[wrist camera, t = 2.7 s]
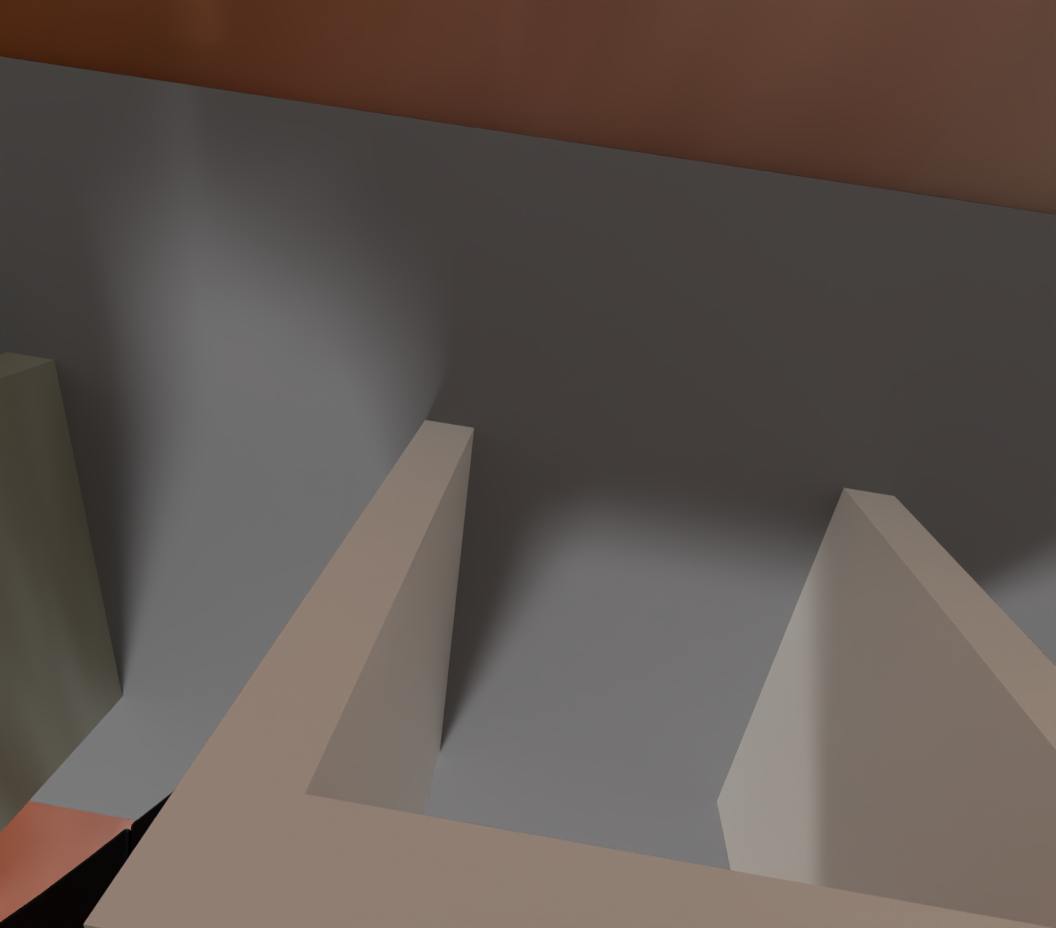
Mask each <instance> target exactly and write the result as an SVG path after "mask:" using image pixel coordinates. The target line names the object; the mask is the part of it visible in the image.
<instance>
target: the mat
mask: <svg viewBox="0 0 1056 928" xmlns="http://www.w3.org/2000/svg"><path fill="white" fill-rule="evenodd" d="M6 352H10V353H16V354H22V355H28V356H34V357H40V358H47V359H53V360H55V365H56V370H57V375H58V380H59V385H60V390H61V395H62V400H63V405H64V410H65V415H66V420H67V425H68V430H69V434H70V439H71V444H72V449H73V454H74V459H75V464H76V469H77V474H78V479H79V484H80V489H81V494H82V499H83V504H84V509H85V514H86V519H87V523H88V528H89V533H90V538H91V543H92V548H93V553H94V558H95V563H96V568H97V573H98V578H99V583H100V588H101V593H102V598H103V603H104V608H105V612H106V617H107V622H108V627H109V632H110V637H111V642H112V647H113V652H114V657H115V662H116V667H117V672H118V677H119V682H120V687H121V692H122V698H121V699H120V700H119V701H118V702H117V703H116V705H115V706H114V707H113V708H112V709H111V710H110V711H109V712H108V713H107V715H106V716H105V717H104V718H103V719H102V720H101V721H100V722H99V723H98V725H97V726H96V727H95V728H94V729H93V730H92V731H91V732H90V733H89V735H88V736H87V737H86V738H85V739H84V740H83V741H82V742H81V743H80V745H79V746H78V747H77V748H76V749H75V750H74V751H73V752H72V753H71V755H70V756H69V757H68V758H67V759H66V760H65V761H64V762H63V763H62V765H61V766H60V767H59V768H58V769H57V770H56V771H55V772H54V774H53V775H52V776H51V777H50V778H49V779H48V780H47V781H46V782H45V784H44V785H43V786H42V787H41V788H40V789H39V790H38V791H37V792H36V794H35V795H34V796H33V797H32V798H31V799H30V800H29V801H32V802H38V803H43V804H49V805H54V806H60V807H65V808H71V809H76V810H82V811H87V812H93V813H98V814H104V815H109V816H115V817H121V818H126V819H132V820H137V819H139V818H140V817H141V816H143V815H144V814H145V813H146V812H148V811H149V810H150V809H151V808H153V807H154V806H155V805H156V804H158V803H159V802H160V801H162V800H163V799H164V798H165V797H167V796H168V795H169V794H170V793H172V792H173V791H174V790H175V788H176V787H177V785H178V784H179V782H180V781H181V780H182V778H183V777H184V775H185V774H186V772H187V771H188V769H189V768H190V766H191V765H192V763H193V762H194V760H195V759H196V757H197V756H198V754H199V753H200V751H201V750H202V749H203V747H204V746H205V744H206V743H207V741H208V740H209V738H210V737H211V735H212V734H213V732H214V731H215V729H216V728H217V726H218V725H219V723H220V722H221V720H222V719H223V718H224V716H225V715H226V713H227V712H228V710H229V709H230V707H231V706H232V704H233V703H234V701H235V700H236V698H237V697H238V695H239V694H240V692H241V691H242V690H243V688H244V687H245V685H246V684H247V682H248V681H249V679H250V678H251V676H252V675H253V673H254V672H255V670H256V669H257V667H258V666H259V664H260V663H261V661H262V660H263V659H264V657H265V656H266V654H267V653H268V651H269V650H270V648H271V647H272V645H273V644H274V642H275V641H276V639H277V638H278V636H279V635H280V633H281V632H282V630H283V629H284V628H285V626H286V625H287V623H288V622H289V620H290V619H291V617H292V616H293V614H294V613H295V611H296V610H297V608H298V607H299V605H300V604H301V602H302V601H303V599H304V598H305V597H306V595H307V594H308V592H309V591H310V589H311V588H312V586H313V585H314V583H315V582H316V580H317V579H318V577H319V576H320V574H321V573H322V571H323V570H324V569H325V567H326V566H327V564H328V563H329V561H330V560H331V558H332V557H333V555H334V554H335V552H336V551H337V549H338V548H339V546H340V545H341V543H342V542H343V540H344V539H345V538H346V536H347V535H348V533H349V532H350V530H351V529H352V527H353V526H354V524H355V523H356V521H357V520H358V518H359V517H360V515H361V514H362V512H363V511H364V509H365V508H366V507H367V505H368V504H369V502H370V501H371V499H372V498H373V496H374V495H375V493H376V492H377V490H378V489H379V487H380V486H381V484H382V483H383V481H384V480H385V478H386V477H387V476H388V474H389V473H390V471H391V470H392V468H393V467H394V465H395V464H396V462H397V461H398V459H399V458H400V456H401V455H402V453H403V452H404V450H405V449H406V448H407V446H408V445H409V443H410V442H411V440H412V439H413V437H414V436H415V434H416V433H417V431H418V430H419V428H420V427H421V425H422V424H423V422H424V421H425V420H429V421H435V422H441V423H447V424H453V425H460V426H466V427H472V428H474V434H473V443H472V453H471V462H470V471H469V481H468V490H467V500H466V509H465V519H464V528H463V537H462V547H461V556H460V566H459V575H458V585H457V594H456V604H455V613H454V622H453V632H452V641H451V651H450V660H449V670H448V679H447V688H446V698H445V707H444V717H443V726H442V736H441V745H440V753H439V757H438V761H437V765H436V769H435V772H434V776H433V780H432V784H431V788H430V791H429V795H428V799H427V803H426V807H425V811H424V814H423V815H425V816H431V817H436V818H442V819H447V820H453V821H459V822H464V823H470V824H475V825H481V826H487V827H492V828H498V829H503V830H509V831H515V832H520V833H526V834H531V835H537V836H543V837H548V838H554V839H559V840H565V841H571V842H576V843H582V844H587V845H593V846H599V847H604V848H610V849H615V850H621V851H627V852H632V853H638V854H643V855H649V856H655V857H660V858H666V859H671V860H677V861H682V862H688V863H694V864H699V865H705V866H710V867H716V868H722V869H727V870H731V869H730V864H729V859H728V854H727V849H726V844H725V839H724V834H723V829H722V824H721V819H720V814H719V809H718V804H717V800H718V797H719V795H720V792H721V790H722V787H723V785H724V782H725V780H726V777H727V775H728V773H729V770H730V768H731V765H732V763H733V760H734V758H735V755H736V753H737V750H738V748H739V745H740V743H741V740H742V738H743V736H744V733H745V731H746V728H747V726H748V723H749V721H750V718H751V716H752V713H753V711H754V708H755V706H756V703H757V701H758V698H759V696H760V694H761V691H762V689H763V686H764V684H765V681H766V679H767V676H768V674H769V671H770V669H771V666H772V664H773V661H774V659H775V657H776V654H777V652H778V649H779V647H780V644H781V642H782V639H783V637H784V634H785V632H786V629H787V627H788V624H789V622H790V620H791V617H792V615H793V612H794V610H795V607H796V605H797V602H798V600H799V597H800V595H801V592H802V590H803V587H804V585H805V582H806V580H807V578H808V575H809V573H810V570H811V568H812V565H813V563H814V560H815V558H816V555H817V553H818V550H819V548H820V545H821V543H822V541H823V538H824V536H825V533H826V531H827V528H828V526H829V523H830V521H831V518H832V516H833V513H834V511H835V508H836V506H837V503H838V501H839V499H840V496H841V494H842V491H843V489H844V488H848V489H854V490H860V491H866V492H873V493H879V494H885V495H891V496H895V497H896V498H897V499H898V500H899V501H900V502H901V503H902V505H903V506H904V507H905V508H906V509H907V510H908V511H909V512H910V513H911V514H912V515H913V516H914V517H915V518H916V519H917V520H918V521H919V522H920V524H921V525H922V526H923V527H924V528H925V529H926V530H927V531H928V532H929V533H930V534H931V535H932V536H933V537H934V538H935V539H936V540H937V542H938V543H939V544H940V545H941V546H942V547H943V548H944V549H945V550H946V551H947V552H948V553H949V554H950V555H951V556H952V557H953V558H954V559H955V561H956V562H957V563H958V564H959V565H960V566H961V567H962V568H963V569H964V570H965V571H966V572H967V573H968V574H969V575H970V576H971V577H972V578H973V580H974V581H975V582H976V583H977V584H978V585H979V586H980V587H981V588H982V589H983V590H984V591H985V592H986V593H987V594H988V595H989V596H990V598H991V599H992V600H993V601H994V602H995V603H996V604H997V605H998V606H999V607H1000V608H1001V609H1002V610H1003V611H1004V612H1005V613H1006V614H1007V615H1008V617H1009V618H1010V619H1011V620H1012V621H1013V622H1014V623H1015V624H1016V625H1017V626H1018V627H1019V628H1020V629H1021V630H1022V631H1023V632H1024V633H1025V635H1026V636H1027V637H1028V638H1029V639H1030V640H1031V641H1032V642H1033V643H1034V644H1035V645H1036V646H1037V647H1038V648H1039V649H1040V650H1041V651H1042V652H1043V654H1044V655H1045V656H1046V657H1047V658H1048V659H1049V660H1050V661H1051V662H1052V663H1053V664H1054V665H1055V666H1056V214H1049V213H1042V212H1036V211H1029V210H1022V209H1016V208H1009V207H1002V206H996V205H989V204H982V203H975V202H969V201H962V200H955V199H949V198H942V197H935V196H929V195H922V194H915V193H909V192H902V191H895V190H889V189H882V188H875V187H869V186H862V185H855V184H849V183H842V182H835V181H829V180H822V179H815V178H809V177H802V176H795V175H789V174H782V173H775V172H769V171H762V170H755V169H748V168H742V167H735V166H728V165H722V164H715V163H708V162H702V161H695V160H688V159H682V158H675V157H668V156H662V155H655V154H648V153H642V152H635V151H628V150H622V149H615V148H608V147H602V146H595V145H588V144H582V143H575V142H568V141H562V140H555V139H548V138H541V137H535V136H528V135H521V134H515V133H508V132H501V131H495V130H488V129H481V128H475V127H468V126H461V125H455V124H448V123H441V122H435V121H428V120H421V119H415V118H408V117H401V116H395V115H388V114H381V113H375V112H368V111H361V110H355V109H348V108H341V107H335V106H328V105H321V104H314V103H308V102H301V101H294V100H288V99H281V98H274V97H268V96H261V95H254V94H248V93H241V92H234V91H228V90H221V89H214V88H208V87H201V86H194V85H188V84H181V83H174V82H168V81H161V80H154V79H148V78H141V77H134V76H128V75H121V74H114V73H107V72H101V71H94V70H87V69H81V68H74V67H67V66H61V65H54V64H47V63H41V62H34V61H27V60H21V59H14V58H7V57H1V56H0V354H3V353H6Z"/></svg>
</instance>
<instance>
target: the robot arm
mask: <svg viewBox="0 0 1056 928" xmlns="http://www.w3.org/2000/svg"><path fill="white" fill-rule="evenodd" d="M172 793H173V792H172ZM172 793H170V794H169V795H168V796H167V797H165V798H164V799H163V800H162V801H160V802H159V803H158V804H156V805H155V806H154V807H153V808H151V809H150V810H149V811H148V812H146V813H145V814H144V815H143V816H141V817H140V818H139V819H137V820H136V821H135V822H134V823H133V824H132V826H131V831H130V829H125V830H123V831H122V832H121V833H119V834H118V835H117V836H115V837H114V838H113V839H112V840H110V841H109V842H108V843H107V844H105V845H104V846H103V847H102V848H100V849H99V850H98V851H96V852H95V853H94V854H93V855H91V856H90V857H89V858H87V859H86V860H85V861H83V862H82V863H81V864H79V865H78V866H77V867H75V868H74V869H73V870H71V871H70V872H69V873H68V874H66V875H65V876H64V877H62V878H61V879H60V880H58V881H57V882H56V883H54V884H53V885H52V886H50V887H49V888H48V889H46V890H45V891H44V892H42V893H41V894H40V895H38V896H37V897H35V898H34V899H33V900H31V901H30V902H28V903H27V904H25V905H24V906H23V907H21V908H20V909H18V910H17V911H16V912H14V913H13V914H11V915H10V916H8V917H7V918H6V919H4V920H3V921H1V922H0V928H84V925H83V924H84V923H85V921H86V920H87V918H88V917H89V915H90V914H91V912H92V911H93V909H94V908H95V906H96V905H97V903H98V902H99V901H100V899H101V898H102V896H103V895H104V893H105V892H106V890H107V889H108V887H109V886H110V884H111V883H112V881H113V880H114V878H115V877H116V875H117V874H118V872H119V871H120V870H121V868H122V867H123V865H124V864H125V862H126V861H127V859H128V858H129V856H130V855H131V853H132V852H133V850H134V849H135V847H136V846H137V844H138V843H139V841H140V840H141V839H142V837H143V836H144V834H145V833H146V831H147V830H148V828H149V827H150V825H151V824H152V822H153V821H154V819H155V818H156V816H157V815H158V813H159V812H160V811H161V809H162V808H163V806H164V805H165V803H166V802H167V800H168V799H169V797H170V796H171V794H172Z"/></svg>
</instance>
